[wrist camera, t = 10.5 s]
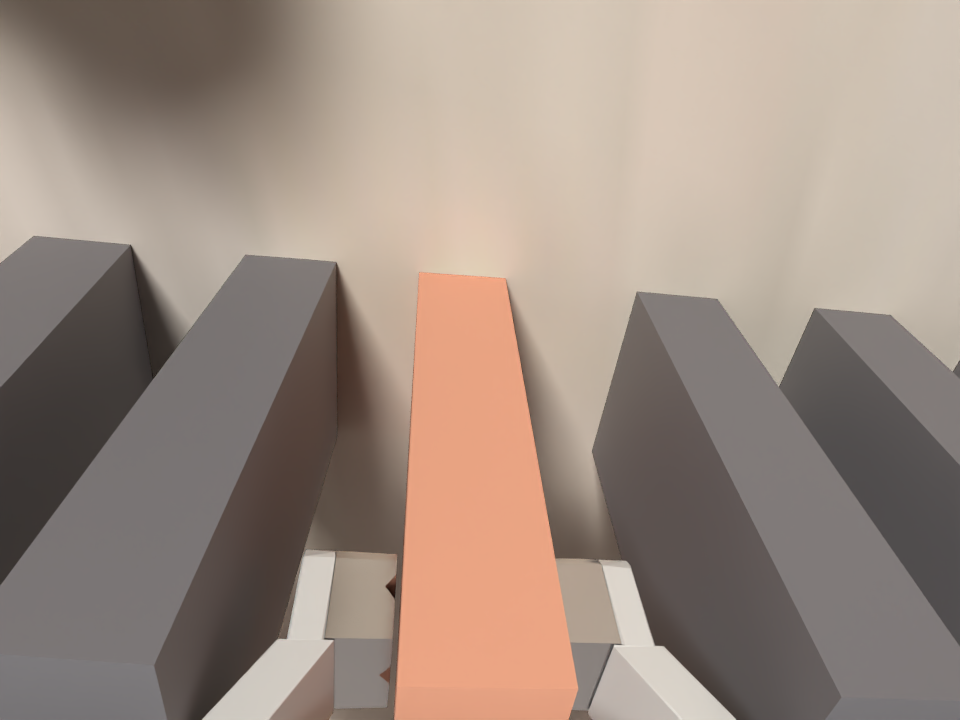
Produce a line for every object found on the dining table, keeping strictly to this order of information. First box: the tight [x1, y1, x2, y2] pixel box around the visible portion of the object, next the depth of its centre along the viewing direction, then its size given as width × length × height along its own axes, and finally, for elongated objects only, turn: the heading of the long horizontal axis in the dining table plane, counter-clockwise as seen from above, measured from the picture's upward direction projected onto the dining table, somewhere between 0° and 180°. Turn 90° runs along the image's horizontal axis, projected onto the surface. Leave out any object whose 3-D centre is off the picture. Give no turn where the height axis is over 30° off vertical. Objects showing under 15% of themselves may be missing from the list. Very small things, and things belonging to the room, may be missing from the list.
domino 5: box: [0, 255, 337, 720], centre depth 12 cm, size 2×5×10 cm, turn 174°
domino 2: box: [779, 308, 960, 646], centre depth 14 cm, size 2×5×10 cm, turn 173°
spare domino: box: [394, 272, 578, 720], centre depth 13 cm, size 2×5×10 cm, turn 174°
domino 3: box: [592, 292, 960, 720], centre depth 14 cm, size 2×5×10 cm, turn 173°
